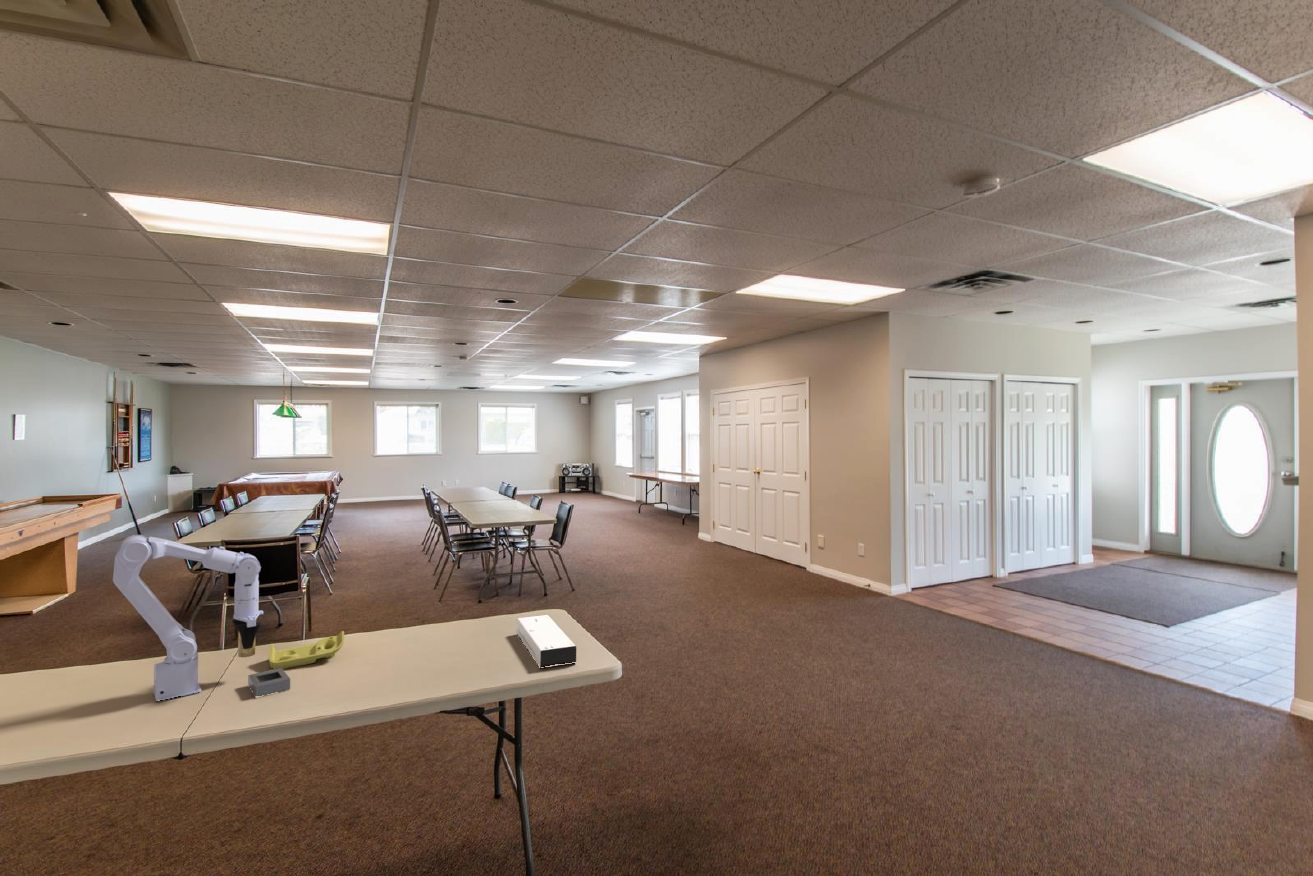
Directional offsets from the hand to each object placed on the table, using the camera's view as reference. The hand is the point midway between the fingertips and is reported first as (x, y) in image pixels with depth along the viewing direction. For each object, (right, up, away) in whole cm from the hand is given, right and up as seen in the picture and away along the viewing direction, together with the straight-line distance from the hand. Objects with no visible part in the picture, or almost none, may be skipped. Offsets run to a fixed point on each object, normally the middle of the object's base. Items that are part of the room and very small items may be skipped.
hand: (246, 646), depth 174 cm
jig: (+10, -10, -5) cm, 15 cm away
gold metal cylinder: (0, -3, 0) cm, 3 cm away
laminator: (+80, -11, +29) cm, 85 cm away
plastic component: (+9, -10, +14) cm, 20 cm away
